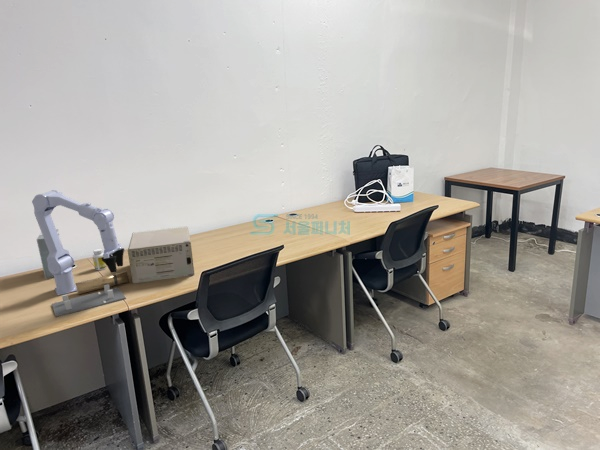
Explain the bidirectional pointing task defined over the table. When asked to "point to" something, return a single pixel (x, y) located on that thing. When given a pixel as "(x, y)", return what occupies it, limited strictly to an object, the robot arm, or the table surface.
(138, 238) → the beige vented electronics case
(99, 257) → the supplement bottle
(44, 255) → the hard drive box
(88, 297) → the gray cradle stand
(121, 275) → the brass tube
